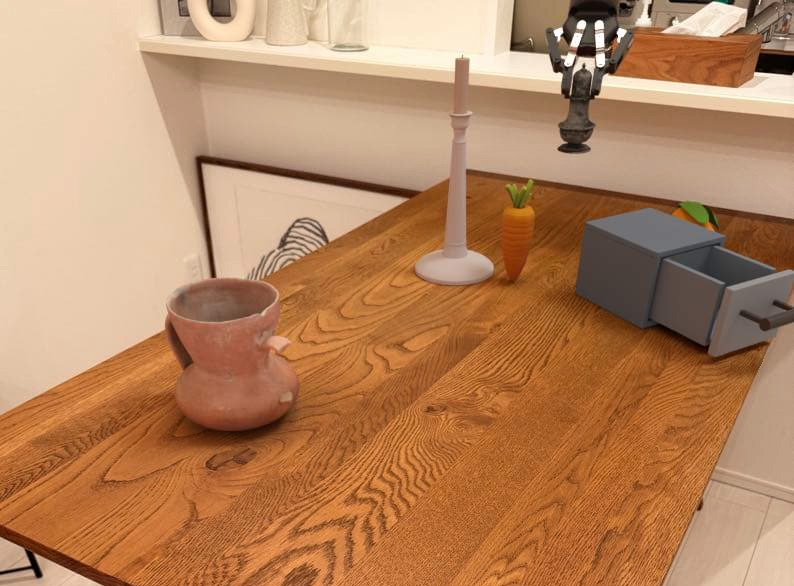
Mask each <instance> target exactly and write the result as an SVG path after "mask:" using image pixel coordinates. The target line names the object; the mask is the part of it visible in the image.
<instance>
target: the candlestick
mask: <svg viewBox="0 0 794 586" xmlns="http://www.w3.org/2000/svg"><path fill="white" fill-rule="evenodd" d="M454 59H455V60H454V84H453V85H454V86H453V89H454V90H453V110H450V111H448V112H447V114H448V115H449V117H450V119H451V122H450V127H451V128H452V129H453V139H452V140H451V143H452V144H451V157H450V167H449V168H450V169H449V170H450V171H449V180H448V181H449V182H448V193H447V194H448V195H447V205H446V206H447V207H446V219H445V220H446V221H445V230H444V240H443V242H444V243H443V249H439V250H434V251H432V252H428V253H427V254H425V255H423V256H422V257H421V258H420V259H418V260H417V261H416V262H415V265H414V272H415V275H416V276H417V277H418V278H420V279H422V280H424V281H426V282H428V283H432V284H435V285H441V286H467V285H473V284H478V283H481V282H484V281H486V280H488V279H490V278H491V277H492V276H493V275H494V272H495V271H494V270H495V266H494V263H493V262H492V261H491V260H490V259H489V258H488V257H487V256H485V255H484V254H482V253H480V252H477V251H475V250H471V249H468V247H467V139H466V133H467V128H468V127H469V126H470V121H469V119H470V117H471V116H472V115H473V114H474V112H473V111H470V110H468V106H469V84H470V60H471V58H470V57H464V54H462V55H461V57H456V58H454Z"/></svg>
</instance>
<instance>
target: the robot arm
mask: <svg viewBox="0 0 794 586" xmlns="http://www.w3.org/2000/svg"><path fill="white" fill-rule="evenodd" d="M620 4H621V0H569V5H568V6H569V7H568V11H567V18H566V19H565V21H564V22H563V24H562V27H559V28H556V29H554V28H553V27H548V28H546V29H545V47H546V50H547V54H548V57H549V60H550V65H551V68H552V72H553V73H554V74H558V73H560V74H562V78H561V84H560V94H561V95H562V96H564V100H570V99H569V96H570V95H571V91H572V82H573V75H574V74H573V73H574V70H575V67H576V65H577V64H578V61H579V58H580V57H584V56H589V57H594V58H593V59H594V68H593V73H592V82H591V90H590V101H591V100H592V101H593V100H596V97H599V96H600V94H601V90H602V84H603V78H604V76H606V75H607V74H609V75H614V74H616V72H617V71H618V69H619V67H620V66H621V64H622V62H623V61H624V59H625V58H626V57H627V55H628V53H629V52H630V50H631V48H632V46H633V45H634V38H635V32H636V31H635V29H634V28H632V27H631V28H627V29H623V28H621V27H620V23H619V21H618V18H619V11H620V6H621V5H620ZM562 39H563V40H564V41H565V43H566V45H567V46H568V52H567V55H566V58H565V59H564V58H562V55H561V50H560V47H559V46H560V45H561V40H562ZM616 39H617V41H616V47H615V49H614V51H612V53H611V56H610V57H609V58H608V59H606V57H605V50H606V49H607V48H608V47H609V46H610V45H611V44H612V43H613V42H614V40H616Z"/></svg>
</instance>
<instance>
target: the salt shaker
mask: <svg viewBox="0 0 794 586" xmlns="http://www.w3.org/2000/svg"><path fill="white" fill-rule="evenodd" d="M586 67H587V65H586V62H583V63H582V65H581V68H580V69H578V70H576V71H575V72H574V74H573V78H572V84H571V90H570V96H569V99H568V100H569V106H568V113H567V115H566V119H564V120H563V121H560V122H558V124H557V127H558V128H559V136H560V138H561V140H562V141H563V142H564V143H562V144H560V145H559V146H558V147H557V148H556V150H557V151H558V152H560V153H563V154H570V155H580V154H586V153H587V154H588V153H589V152H591V151H592V147H590V146H589V145H588V144H586V142H587V141H588V140H589V139H591V137H592V135H593V133H594V129H595V128H596V127H597V125H596V123H595V122H593V121H591V120H590V117H589V111H590V110H589V109H590V101H591V100H590V93H591V86H592V79H593V73H592V72H591V71H590V70H588V69H587V68H586Z"/></svg>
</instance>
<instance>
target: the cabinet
mask: <svg viewBox="0 0 794 586" xmlns="http://www.w3.org/2000/svg"><path fill="white" fill-rule="evenodd" d="M582 233H583V234H582V240H581V248H580V253H579V259H578V268H577V275H576V281H575V288H574V294H575V295H577V296H579V297H581V298H582V299H585V300H587V301H588V302H590V303H592V304H594V305H596V306H598V307H600V308H602V309H604V310H605V311H607V312H609V313H611V314H612V315H615V316H616V317H619V318H620V319H623V320H624V321H627V322H628V323H630V324H632V325H633V326H636V327H637V328H639V329H641V330H643V329H647V328H650V327H653V326H656V325H661V324H660V323H658V322H656V321H654V320H652V319H650V318H648V316H649V311H650V306H651V302H652V297H653V292H654V288H655V283H656V278H657V274H658V269H659V264H660V260H661V258H662V257H666V256H669V255H673V254H677V253H681V252H685V251H689V250H693V249H697V248H701V247H705V246H709V245H713V244H714V245H717V246H720V247H722V248H724V246H725V244H726V243H725V241H726V238H727V235H725V234H723V233H719V232H718V231H715V230H714V231H712V230H709V229H707V228H704V227H701V226H698V225H696V224H693V223H690V222H688V221H685V220H682V219H680V218H677V217H674V216H672V214H669V213H665V212H663V211H661V210H658V209H656V208H653V207H646V208H642V209H637V210H633V211H629V212H624V213H620V214H615V215H611V216H607V217H601V218H598V219H592V220H589V221H585V222H584V228H583V232H582Z"/></svg>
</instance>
